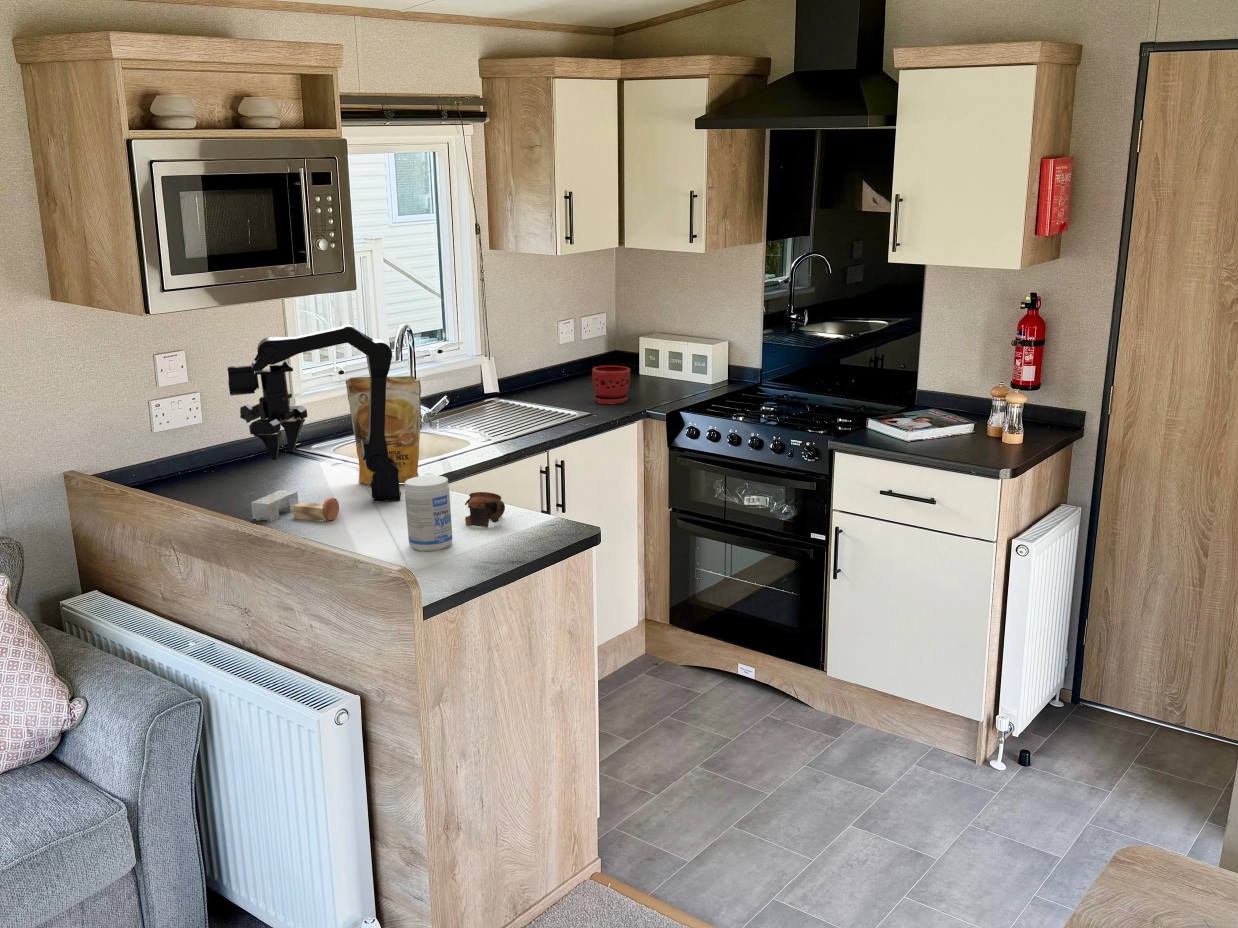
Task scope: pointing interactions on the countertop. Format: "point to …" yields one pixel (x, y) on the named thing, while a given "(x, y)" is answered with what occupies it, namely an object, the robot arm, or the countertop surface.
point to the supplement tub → (428, 512)
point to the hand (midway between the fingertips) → (283, 454)
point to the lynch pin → (317, 510)
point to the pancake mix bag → (389, 422)
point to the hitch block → (274, 505)
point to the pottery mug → (484, 508)
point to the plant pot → (611, 384)
